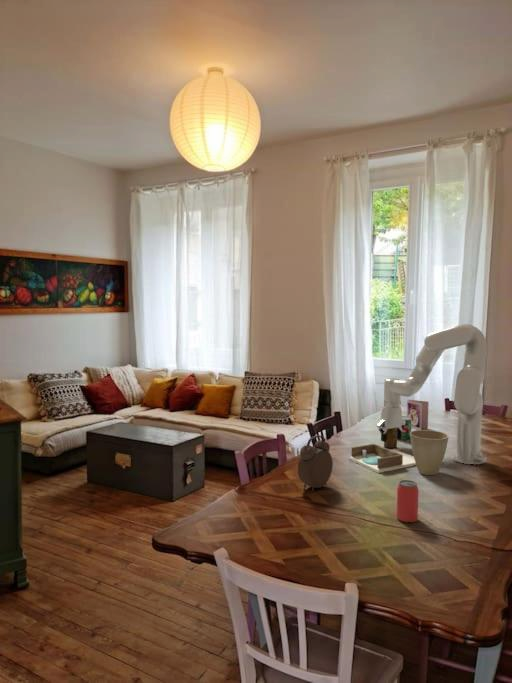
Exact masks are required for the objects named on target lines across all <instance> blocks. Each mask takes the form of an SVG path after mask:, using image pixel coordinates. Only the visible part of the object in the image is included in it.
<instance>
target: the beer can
mask: <svg viewBox="0 0 512 683" xmlns="http://www.w3.org/2000/svg"><path fill="white" fill-rule="evenodd" d="M396 491H397V492H396V518H397V519H398V520H399V521H401V522H404V523H408V522H411V523H415V522H417V521H418V519H419V518H418V516H419V493H420V492H419V487H418V483H417V482H416V481H413V480H409V479H404V480H402V479H401V480H400V481H399V482H398V486H397V490H396Z"/></svg>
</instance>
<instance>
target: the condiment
mask: <svg viewBox="0 0 512 683" xmlns="http://www.w3.org/2000/svg"><path fill="white" fill-rule="evenodd" d="M385 427H386V426H385ZM384 430H385V429H384ZM385 434H387V441H386V442H383V444H380V446H381V447H384V448H386V449H389V450H391V449H396V450H398V451H400V450H402V448H401V447H399V446H398V440H397V428H392V429H388V430H387V432H386V433H385Z"/></svg>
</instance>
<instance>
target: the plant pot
mask: <svg viewBox="0 0 512 683" xmlns="http://www.w3.org/2000/svg"><path fill="white" fill-rule="evenodd" d="M410 438H411V441H410V443H411V444H410V445H411V450H412V454H413V455H412V456H414V459H415V462H416V465H415V466H416V468H417V470H418V473H419V474H422V475H425V476H435V475H438V473H439V471H440V469H441V466H442V463H443V461H444V459H445V455H446V451H447V447H448V443H449V442H448V441H449V434H447V433H445V432H443V431H438V430H430V429H421V430H417V429H414V430H411V432H410Z"/></svg>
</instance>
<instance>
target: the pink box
mask: <svg viewBox="0 0 512 683" xmlns="http://www.w3.org/2000/svg"><path fill="white" fill-rule="evenodd" d="M429 405H430V404H429V401H425V400H415V399H407V401H406V417H410V418H411V429H414V430H422V429H424V430H429V429H428V428H429Z"/></svg>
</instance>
